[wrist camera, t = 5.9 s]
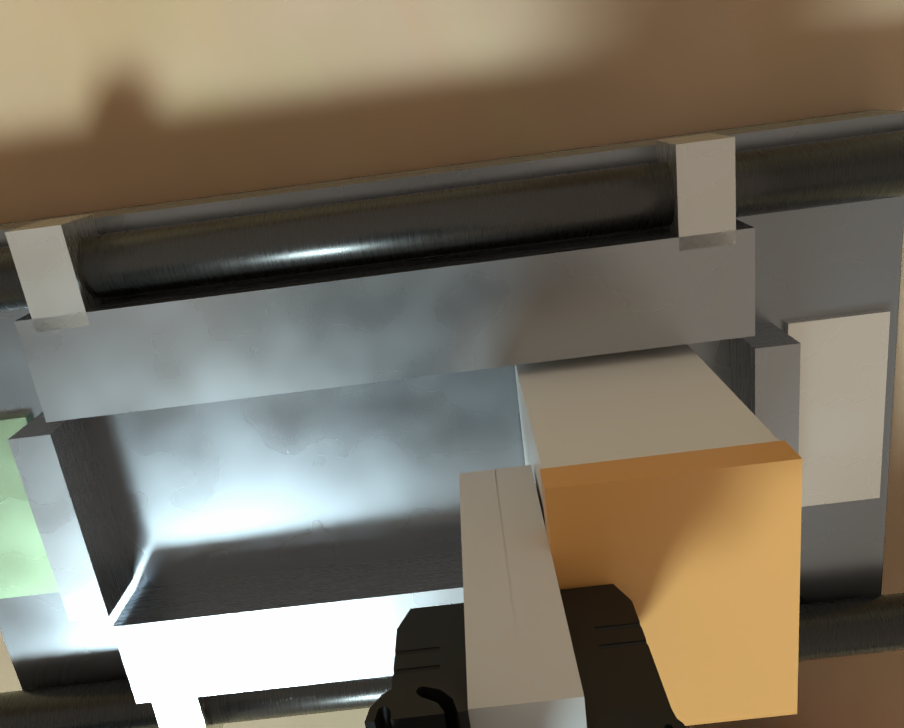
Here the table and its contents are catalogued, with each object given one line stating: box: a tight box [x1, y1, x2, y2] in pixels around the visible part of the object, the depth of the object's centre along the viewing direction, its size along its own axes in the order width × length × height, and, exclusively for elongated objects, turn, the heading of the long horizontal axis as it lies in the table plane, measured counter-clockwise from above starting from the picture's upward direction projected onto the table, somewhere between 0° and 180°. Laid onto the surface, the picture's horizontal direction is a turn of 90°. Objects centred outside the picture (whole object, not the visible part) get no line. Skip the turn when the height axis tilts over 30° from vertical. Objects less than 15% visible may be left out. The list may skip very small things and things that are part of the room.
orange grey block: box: [515, 344, 803, 726], centre depth 17 cm, size 4×5×7 cm
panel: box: [0, 110, 904, 728], centre depth 20 cm, size 25×14×3 cm, turn 97°
